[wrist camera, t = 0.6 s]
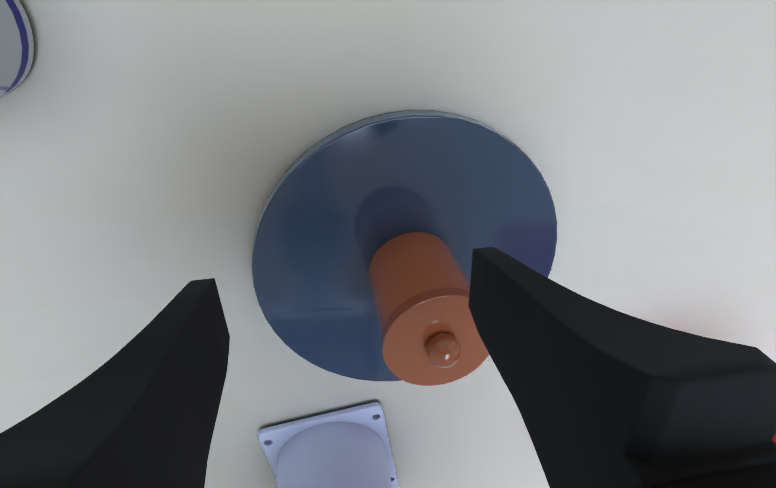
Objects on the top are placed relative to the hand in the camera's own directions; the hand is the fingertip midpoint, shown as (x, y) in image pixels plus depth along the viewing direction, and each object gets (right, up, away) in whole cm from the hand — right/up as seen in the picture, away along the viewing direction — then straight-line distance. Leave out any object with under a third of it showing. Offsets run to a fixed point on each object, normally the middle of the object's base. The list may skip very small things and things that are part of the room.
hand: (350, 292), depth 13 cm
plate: (+2, +1, +12) cm, 12 cm away
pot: (+2, 0, +11) cm, 11 cm away
